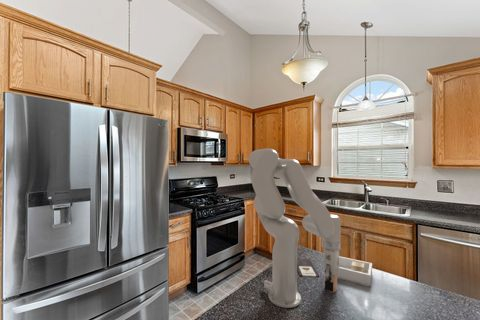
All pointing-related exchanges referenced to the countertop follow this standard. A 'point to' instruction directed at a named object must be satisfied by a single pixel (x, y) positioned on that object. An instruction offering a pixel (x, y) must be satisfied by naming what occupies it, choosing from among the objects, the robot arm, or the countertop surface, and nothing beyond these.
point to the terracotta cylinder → (334, 283)
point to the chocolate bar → (306, 268)
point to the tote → (354, 272)
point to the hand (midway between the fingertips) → (330, 285)
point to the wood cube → (357, 266)
